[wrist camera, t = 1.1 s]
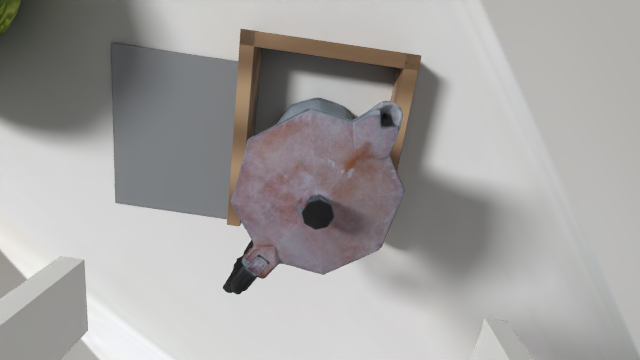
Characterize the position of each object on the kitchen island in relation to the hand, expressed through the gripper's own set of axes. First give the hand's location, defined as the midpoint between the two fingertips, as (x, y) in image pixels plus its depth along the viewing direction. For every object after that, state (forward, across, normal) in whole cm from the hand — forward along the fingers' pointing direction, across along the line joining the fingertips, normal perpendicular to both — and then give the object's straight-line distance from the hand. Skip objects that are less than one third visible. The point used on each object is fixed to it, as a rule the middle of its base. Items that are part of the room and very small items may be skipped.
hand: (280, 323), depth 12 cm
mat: (+26, -14, -1) cm, 29 cm away
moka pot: (+26, 0, 0) cm, 26 cm away
